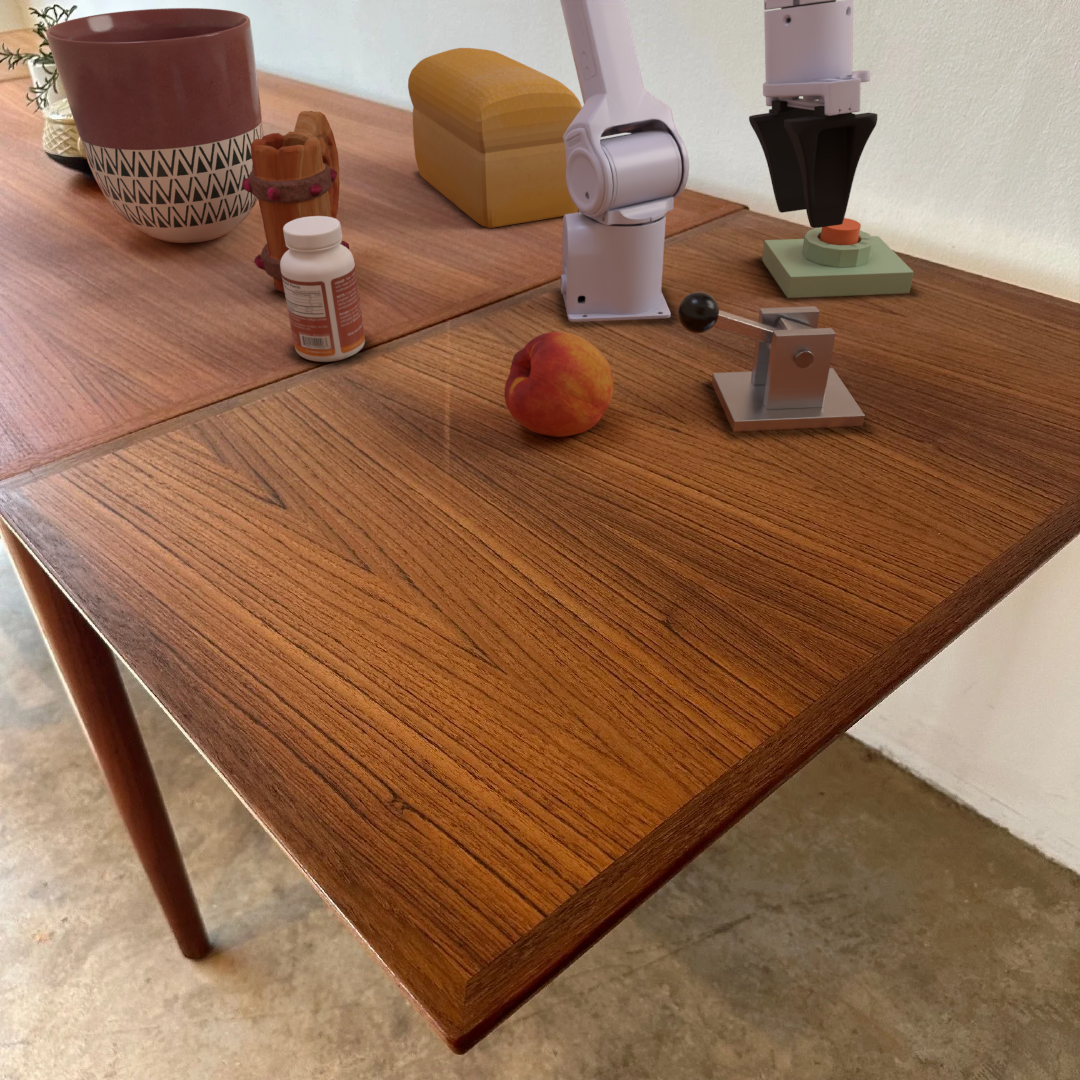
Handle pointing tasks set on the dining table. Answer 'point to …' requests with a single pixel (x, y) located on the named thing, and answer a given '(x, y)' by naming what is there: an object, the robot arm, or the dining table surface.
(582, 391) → the fruit
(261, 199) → the mug
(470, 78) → the bread
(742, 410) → the bracket
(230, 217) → the planter
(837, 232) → the button
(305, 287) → the pill bottle
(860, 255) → the button block
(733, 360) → the dining table surface
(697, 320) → the tap lever
